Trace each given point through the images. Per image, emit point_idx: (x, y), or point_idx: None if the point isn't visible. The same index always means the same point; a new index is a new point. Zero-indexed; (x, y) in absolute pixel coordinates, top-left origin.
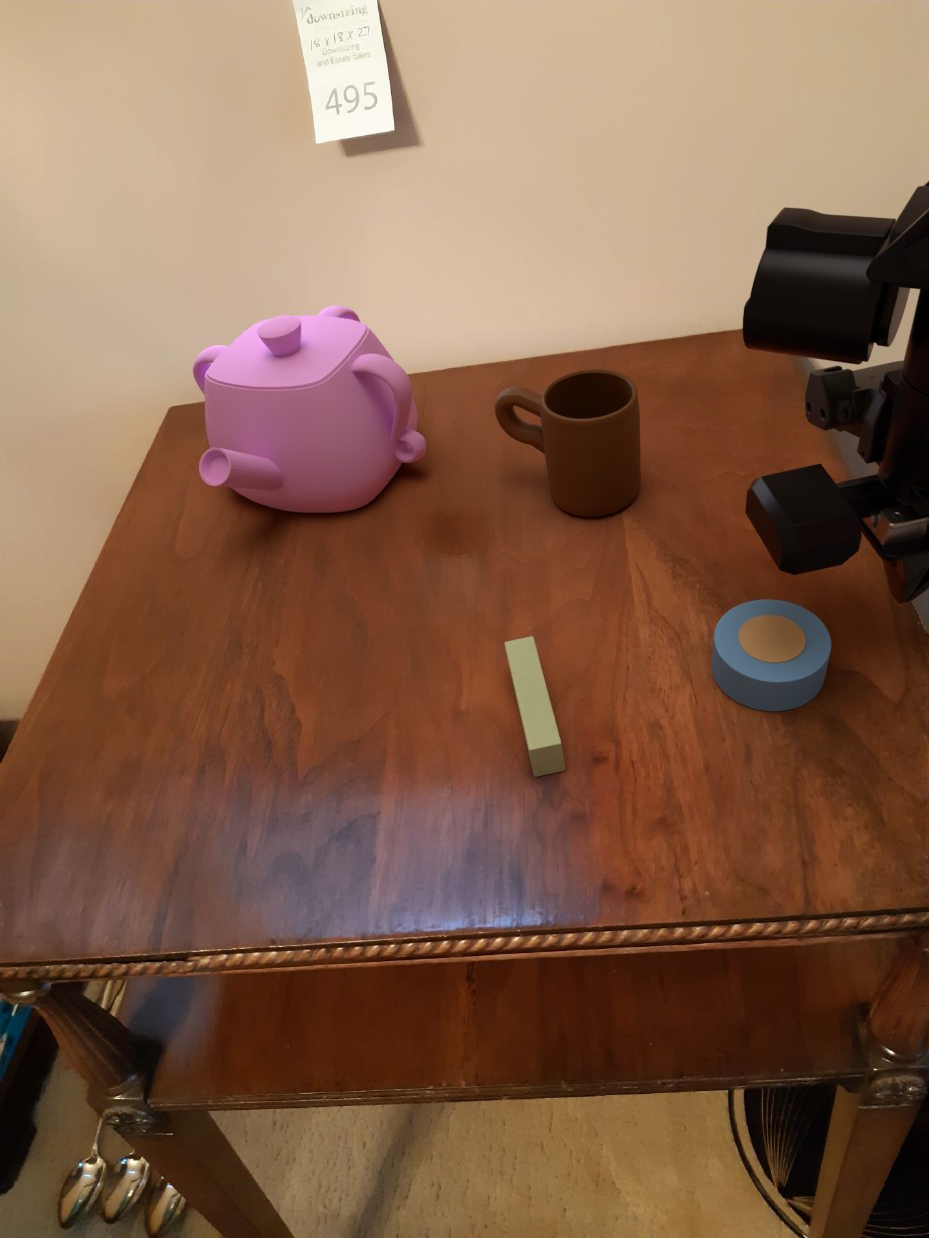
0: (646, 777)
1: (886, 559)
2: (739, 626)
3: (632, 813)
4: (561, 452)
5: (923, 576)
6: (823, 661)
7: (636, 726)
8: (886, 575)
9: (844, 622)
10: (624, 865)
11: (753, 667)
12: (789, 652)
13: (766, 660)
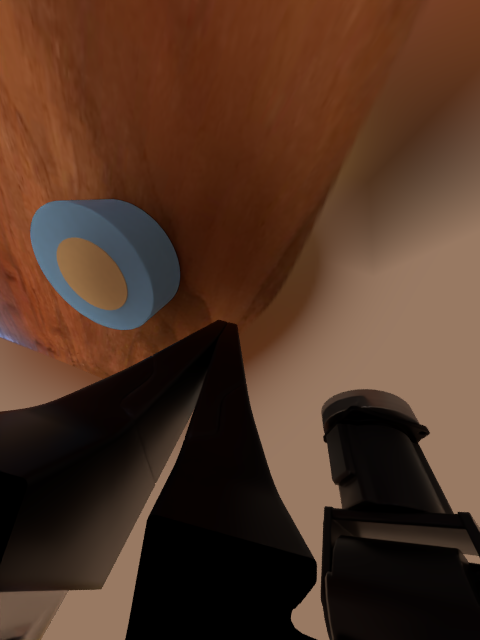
0: (44, 303)
1: (11, 528)
2: (58, 241)
3: (41, 318)
4: None
5: (184, 427)
6: (137, 325)
7: (28, 263)
8: (197, 331)
9: (225, 242)
10: (43, 339)
11: (75, 299)
12: (107, 303)
13: (86, 299)
